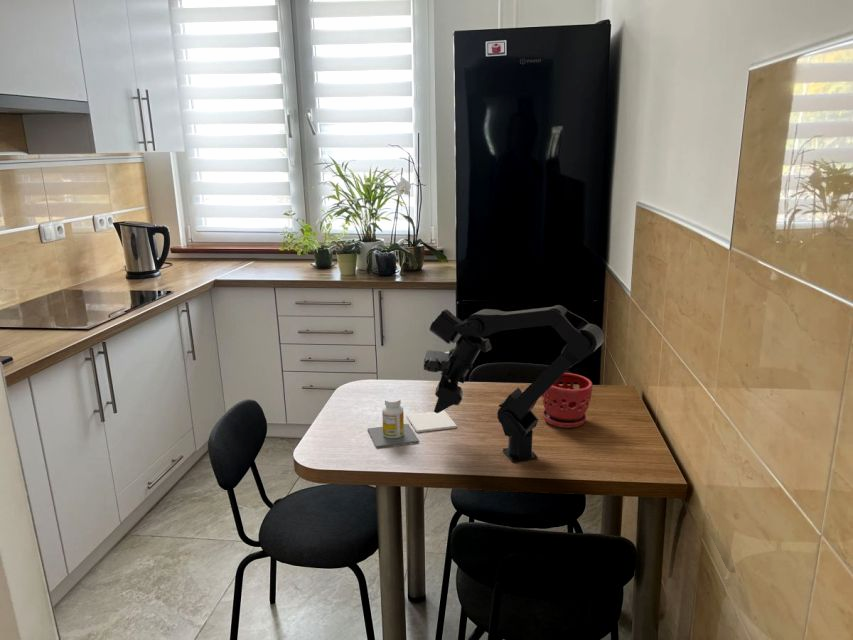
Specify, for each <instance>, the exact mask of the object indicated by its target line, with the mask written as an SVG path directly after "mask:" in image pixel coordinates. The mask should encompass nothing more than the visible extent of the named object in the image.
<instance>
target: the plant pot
mask: <svg viewBox="0 0 853 640" xmlns="http://www.w3.org/2000/svg"><path fill="white" fill-rule="evenodd" d="M560 382H562V385H560ZM568 383H570V384H568ZM574 384H578V386H579V388H578V389H577V388H574ZM592 393H593V382H592V381H591V380H590V379H589V378H587V377H585V376H583V375H580V374H576V373H571V372H565V373H564V374H563V375H562V376H561V377H560V378H559V379H558V380H557V381H556V382H555V383H554V384H553V385H552V386H551V387H550V388H549V389H548V390H547V391H546V392H545V393H544V394H543V395H542V396H541V400H542V404H543V407H544V408H543V409H544V410H542V418H543V419H544V420H545V421H546V422H547V423H548V424H550V425H552V426H554V427H555V426H556V427H559V428H576V427H579V426H582V425H583V424H584V423H585V422H586V420H587V415H586V413H587V411H588V408H589V406H590V402H591V399H592Z"/></svg>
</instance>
